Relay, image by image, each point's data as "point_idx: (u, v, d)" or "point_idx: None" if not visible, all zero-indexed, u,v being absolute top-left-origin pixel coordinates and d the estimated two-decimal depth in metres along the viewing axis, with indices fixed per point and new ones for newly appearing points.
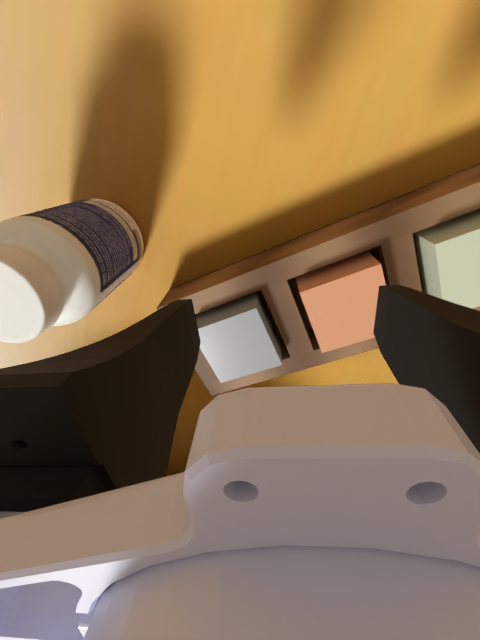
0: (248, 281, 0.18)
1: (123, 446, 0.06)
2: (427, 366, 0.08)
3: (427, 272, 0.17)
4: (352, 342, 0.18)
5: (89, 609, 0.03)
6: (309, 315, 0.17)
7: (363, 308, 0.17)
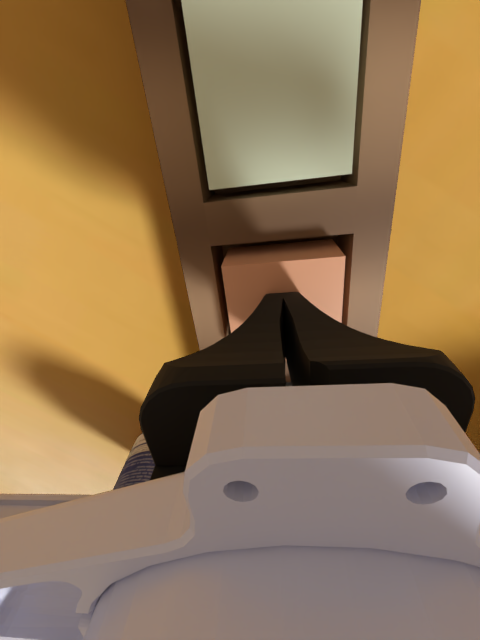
0: None
1: None
2: (296, 371, 0.08)
3: None
4: (338, 319, 0.12)
5: (89, 609, 0.03)
6: None
7: None
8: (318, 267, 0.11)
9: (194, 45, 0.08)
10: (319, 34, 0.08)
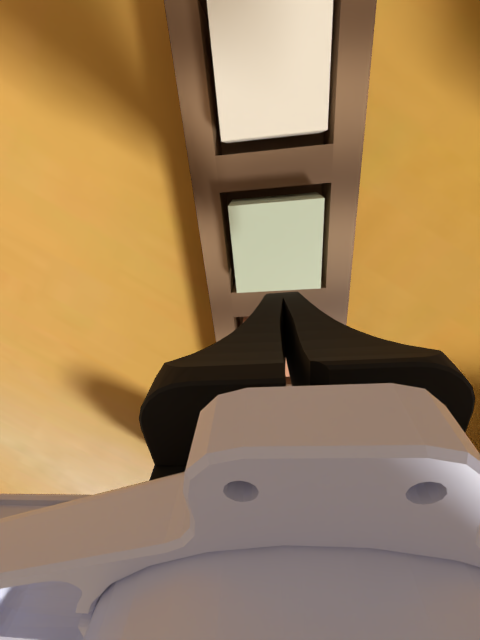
0: None
1: None
2: (296, 371, 0.08)
3: None
4: None
5: (89, 609, 0.03)
6: None
7: None
8: None
9: (233, 225, 0.14)
10: (301, 224, 0.14)
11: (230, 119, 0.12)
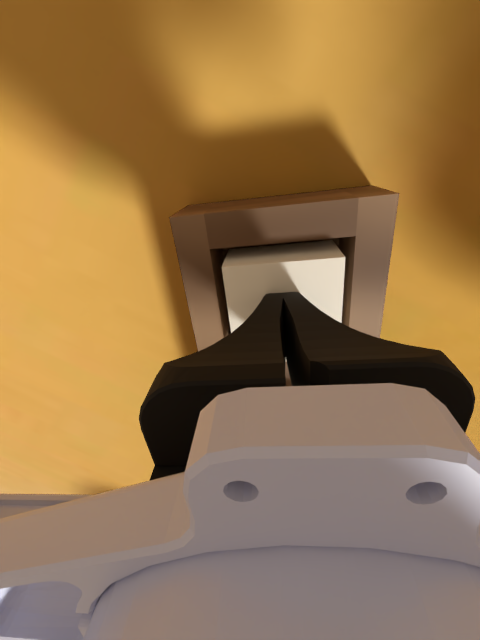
0: None
1: None
2: (296, 371, 0.08)
3: None
4: None
5: (89, 609, 0.03)
6: None
7: None
8: None
9: None
10: None
11: None
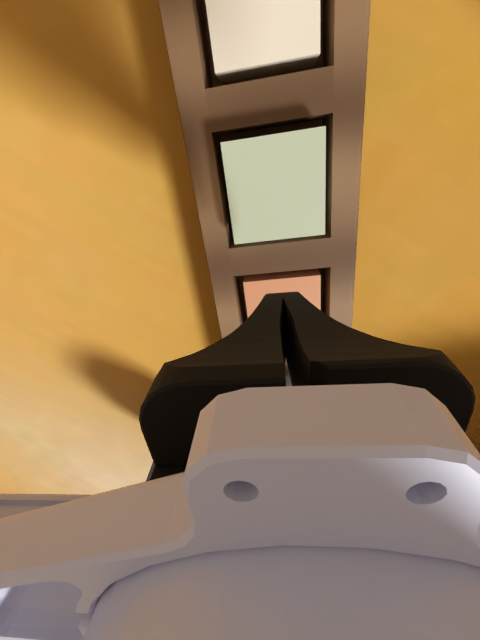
0: None
1: None
2: (296, 371, 0.08)
3: None
4: None
5: (89, 609, 0.03)
6: None
7: None
8: (304, 282, 0.17)
9: (227, 165, 0.13)
10: (301, 160, 0.13)
11: (223, 48, 0.12)
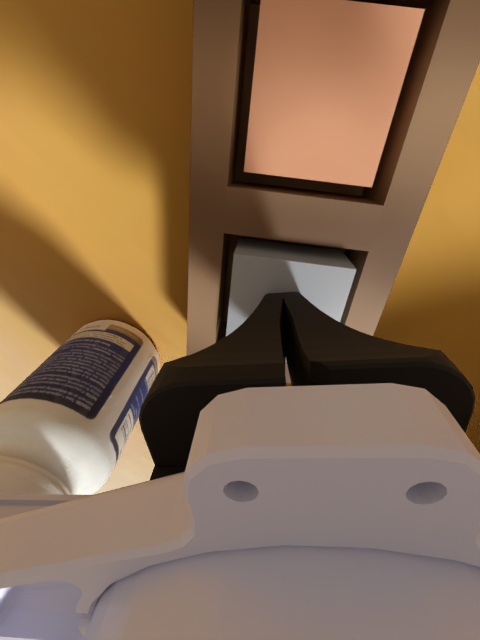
0: (202, 244, 0.11)
1: None
2: (296, 371, 0.08)
3: None
4: (387, 120, 0.09)
5: (89, 609, 0.03)
6: (290, 174, 0.10)
7: (331, 65, 0.09)
8: (386, 22, 0.08)
9: None
10: None
11: None
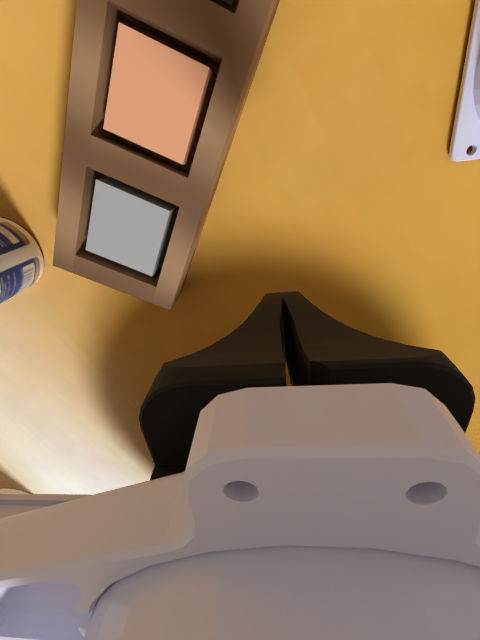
0: (71, 170, 0.16)
1: None
2: (296, 371, 0.08)
3: None
4: (191, 124, 0.15)
5: (89, 609, 0.03)
6: (132, 140, 0.16)
7: (158, 80, 0.14)
8: (189, 67, 0.14)
9: None
10: None
11: None
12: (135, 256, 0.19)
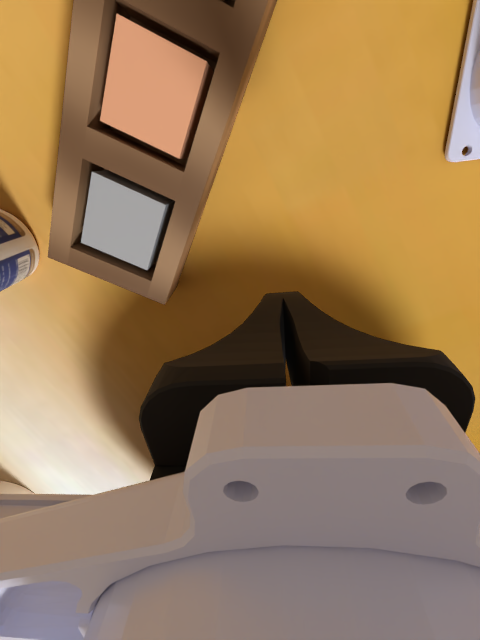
0: (67, 161, 0.16)
1: None
2: (296, 371, 0.08)
3: None
4: (188, 118, 0.15)
5: (89, 609, 0.03)
6: (129, 132, 0.16)
7: (155, 73, 0.14)
8: (187, 60, 0.14)
9: None
10: None
11: None
12: (130, 250, 0.19)
